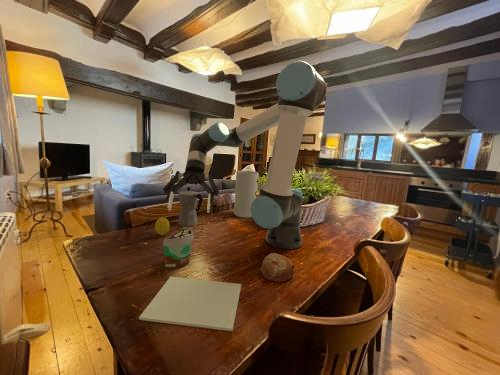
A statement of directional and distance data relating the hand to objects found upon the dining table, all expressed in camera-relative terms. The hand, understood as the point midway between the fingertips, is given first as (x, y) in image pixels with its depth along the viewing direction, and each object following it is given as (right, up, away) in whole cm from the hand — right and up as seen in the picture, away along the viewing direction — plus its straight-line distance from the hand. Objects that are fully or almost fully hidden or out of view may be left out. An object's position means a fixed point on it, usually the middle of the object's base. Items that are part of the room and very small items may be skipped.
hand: (188, 210), depth 81 cm
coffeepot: (-8, -10, +29) cm, 32 cm away
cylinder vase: (+19, -8, +51) cm, 55 cm away
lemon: (-14, -12, +13) cm, 23 cm away
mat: (+9, -20, -25) cm, 33 cm away
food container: (0, -16, -8) cm, 18 cm away
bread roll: (+30, -19, -10) cm, 37 cm away
